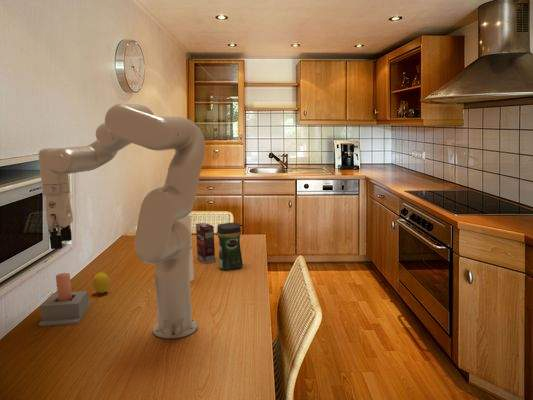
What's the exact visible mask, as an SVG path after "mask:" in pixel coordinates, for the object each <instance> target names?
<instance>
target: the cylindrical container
mask: <svg viewBox="0 0 533 400" xmlns="http://www.w3.org/2000/svg"><path fill="white" fill-rule="evenodd" d="M178 221H180V222H182V223H184V224H185V225H186V226H187V227H188V229H189V232H190V236H191V245H190V254H189V274H190V282H193V281H194V279H195V277H194V255H193V239H192V217H191V213H190V214H189V215H188V216H186V217H184V218H182V219H179V220H178Z"/></svg>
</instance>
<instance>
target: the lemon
mask: <svg viewBox="0 0 533 400" xmlns="http://www.w3.org/2000/svg"><path fill="white" fill-rule="evenodd" d="M92 287H93V289H94V291H96V293H100V294H101V295H103V294H104V293H105V292H107V291H108V289H109V287H110V279H109V276H108V274H107V273H105V272H102V271H99V272H97V273H96V274H95V275H94V276H93V279H92Z"/></svg>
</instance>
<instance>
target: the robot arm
mask: <svg viewBox="0 0 533 400" xmlns="http://www.w3.org/2000/svg"><path fill="white" fill-rule="evenodd" d="M95 137H96V140H95V141H93V142H91V143H90V144H87V145H83V146H82V145H81V146H72V147H62V148H61V147H52V148H50V147H49V148H43V149H40V150H39V152H38V163H39V170H40V180H41V181H40V182H41V190H42V196H44V197H45V213H46V217H45V218H46V223H47V228H48V236H49V244H50V249H51V250H58V249H59V250H60V249H62V248H63V242H71V241H72V240H73V238H72V228H71V225H72V223H73V222H74V218H73V209H72V203H71V198H70V194H71V189H70V179H69V175H70V174H77V173H84V172H90V171H94V170H95V169H98V168H100V167H101V166H104V165H105V164H107V163H109V162H110V161H112V160H113V159H114V158H115V157H116V155H117V154H118V152H120V150H123V149H124V148H125V147H128V146H129V145H131V144H134V145H136V146H139V147H142V148H145V149H147V150H152V151H156V152H157V151H169V150H171V151H172V150H174V151H175V153H174V155H173V156H172V159H171V160H170V163H169V164H168V168H167V173H166V174H167V175H166V178H165V182H164V184H163V185H162V186H161V187H158V188H154V189H152V190H150V191H149V192H148V193H147V194H146V195H145V197H144V198H143V200H142V202H141V206H140V209H139V214H138V220H137V225H136V230H135V231H136V232H135V235H134V236H135V237H134V250H135V254H136V256H137V257H138V259H139V260H140V261H142V263H145V264H147V265H154V281H155V284H154V285H155V296H156V311H157V312H156V315H157V322H156V323H155V324H154V325H153V327H152V332H153V334H154V335H155V336H156V337H158V338H161V339H169V340H170V339H180V338H185V337H187V336H190V335H192V334H193V333H194V332H196V331H197V329H198V322H197V320H196V319H194V318H193V317H192V314H193V313H192V297H191V281H190V274H189V254H190V245H191V236H190V232H189V229H188V227H187V226H186V225H185V224H184V223H182V222H180V221H178V220H179V219H182V218H184V217H186V216H188V215H189V214H190V215H191V213H192V211H193V209H194V205H195V200H196V194H197V191H198V186H199V181H200V175H201V172H202V167H203V163H204V161H205V154H206V140H205V136H204V134H203V132H202V130H201V129H200V127H199V126H198V125H197V124H196V123H195V122H194V121H192V120H191V119H189V118H186V117H182V116H156V115H155V114H154V112H153V111H152V110H151V109H150V108H149V107H147V106H145V105H142V104H139V103H138V104H137V103H136V104H135V103H118V104H114V105H113V106H111V107H110V108H109V109H108V110H107V111H106V114H105V115H104V122H103V123H102V124H100V125H99V126H98V127H97V128H96V129H95Z"/></svg>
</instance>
